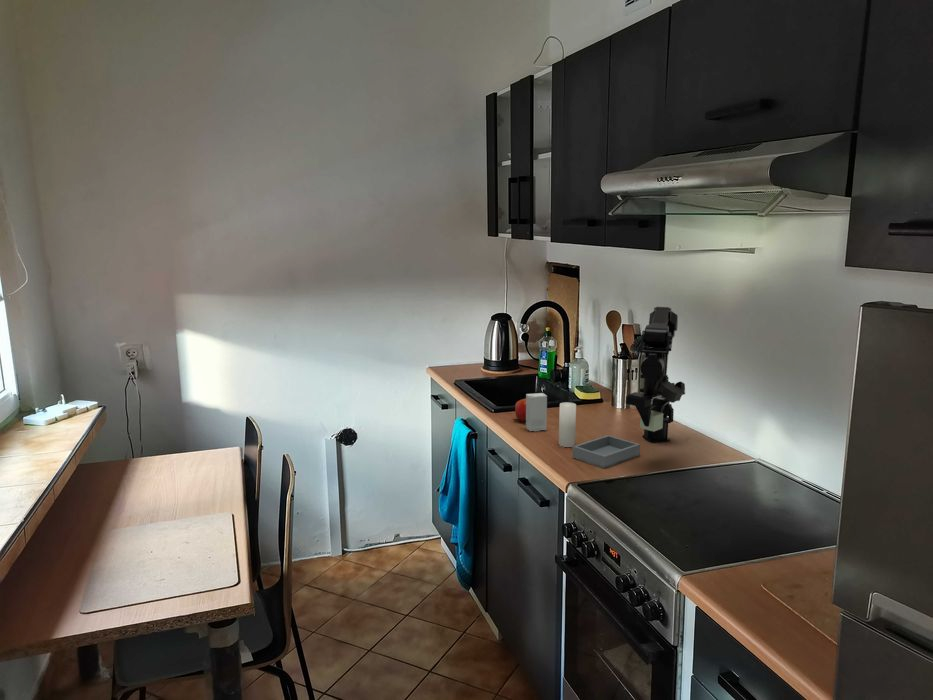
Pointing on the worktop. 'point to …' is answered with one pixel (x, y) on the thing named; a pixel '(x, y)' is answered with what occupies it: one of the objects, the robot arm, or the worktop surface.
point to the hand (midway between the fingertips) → (651, 424)
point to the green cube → (653, 422)
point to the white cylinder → (567, 424)
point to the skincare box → (536, 412)
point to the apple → (521, 409)
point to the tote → (606, 451)
